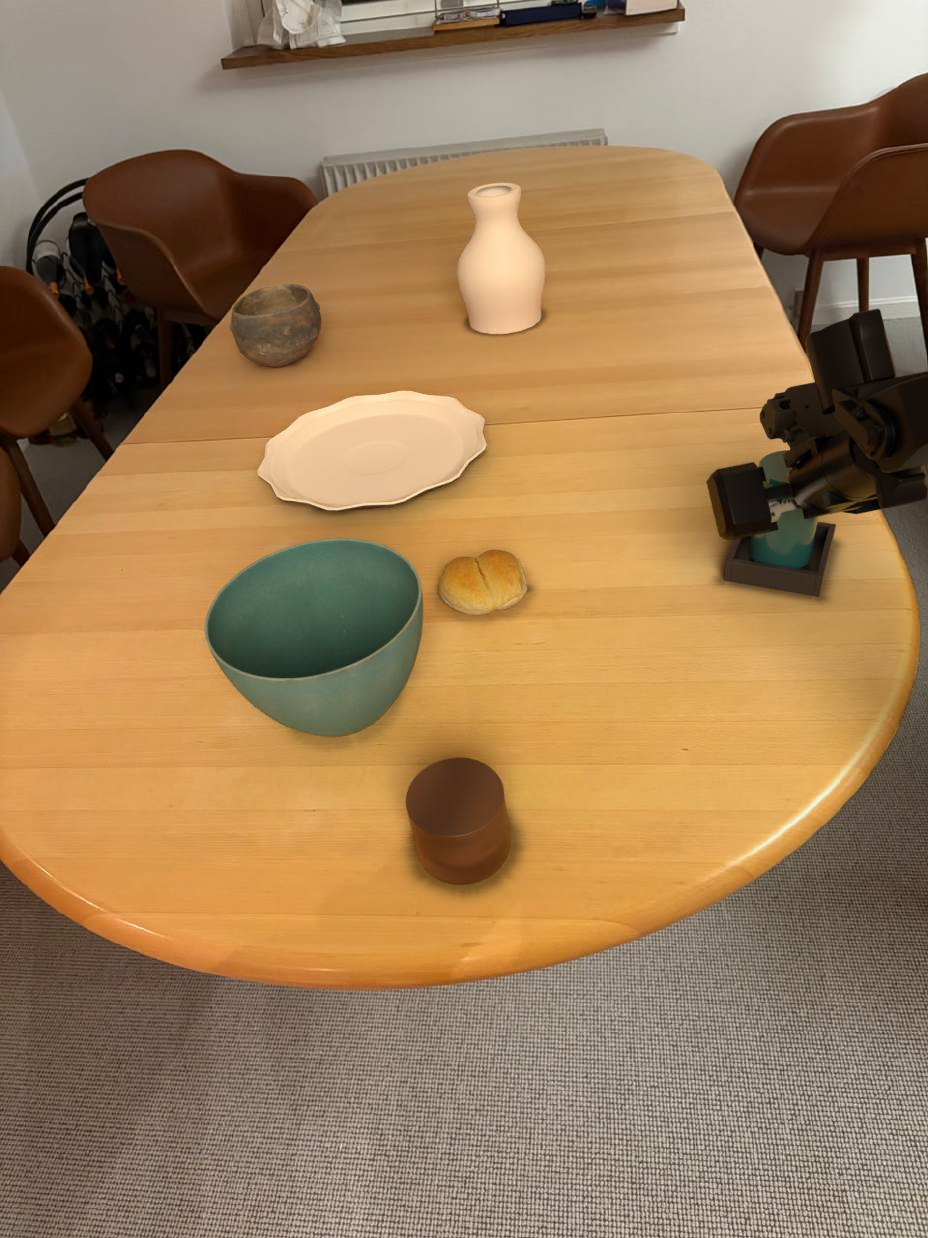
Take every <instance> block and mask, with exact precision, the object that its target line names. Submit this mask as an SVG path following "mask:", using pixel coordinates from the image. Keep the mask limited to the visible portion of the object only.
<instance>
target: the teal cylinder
mask: <svg viewBox="0 0 928 1238" xmlns="http://www.w3.org/2000/svg"><path fill="white" fill-rule="evenodd" d="M789 450H790V449H785V450H784V449H783V450H778V451H774V452H771V453H768V454H766V455H765V456H763V457H762V458H761V459H760V460H759V462H758V467H762V466H763V468H764V473H765V477H766V481H767V485H773V487H776V486H781V485H786V484H789V480H788V477H787V473H788V472H789V471H791V470H792V467H790V468H786V465H785V461H784V457H783V454H784V453H786V452H787V451H789ZM790 499H792V501H793V499H794V498H793V497H791V498H786V499H781V500H777V502H779V503H780V502H781V501H783V502H785V500H788V502H789V500H790ZM819 518H820V516H819V517H814V518H809V519H804V515H803V511H802V509H799V510H794V511H789V512H784V513H781V517H780V519H779V520H778V521H777V525H778V529H779V530H777V531H772V532H767V533H762V534H757V535H753V536H751V539H750V548H749V553H750V556H751V558H752V559H753V560H754V561H755V562H758V563H764V564H771V565H777V566H783V567H789V568H795V569H799V568H801V567H804V566H805V565H807V564H808V563H809V562H810V560H811V559H812V554H813V548H814V542H815V536H816V530H817V524H818V522H819Z"/></svg>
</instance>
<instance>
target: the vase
mask: <svg viewBox="0 0 928 1238" xmlns="http://www.w3.org/2000/svg"><path fill="white" fill-rule="evenodd" d="M466 196H467V202H468V205H469V207H470V210H471V212H472V215H473V217H474V230H473V232H472V236H471V237H470V239H469V241H468V242H467V244H466V246H465V247H464V249H463V251H462V252H461V254H460V256H459V259H458V261H457V265H456V281H457V285H458V290H459V292H460V295H461V298H462V301H463V304H464V307H465V310H466V313H467V317H468V324H469V326H470V328H471V329H472V330H474V331H477V332H478V333H483V334H489V335H507V334H511V333H512V334H513V333H517V332H522V331H525V330H526V329H529V328H531V327H534V326H535V325H536V324H537V323H539V322H540V321H541V318H542V303H543V296H544V290H545V285H546V278H547V277H546V276H547V265H546V259H545V256H544V254H543V252H542V250H541V248H540V247H539V245H537V243H536V242H535V241H534V239H532V238H531V237H530V236H529V234H528V233H526V231H525V230H524V228H523V227H522V226H521V223H520V220H519V208H520V205H521V204H520V203H521V200H522V188H521V186H520V185H518V184H517V183H512V182H493V183H488V184H482V185H480V186H476V187H473V188H472V189H470V190H469V192H468V193H467V195H466Z"/></svg>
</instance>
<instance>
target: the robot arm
mask: <svg viewBox="0 0 928 1238" xmlns="http://www.w3.org/2000/svg"><path fill="white" fill-rule="evenodd" d="M885 327H886V326H885V324H884V319H883V315H882V311H881V309H880V308H873V309H867V310H863V311H857V312H854V313H853V314H851V316H849V318H845V319H843V320H840V321H837V322H835V323H832V324H830V325H828V326H825V327H824V328H821V329H819V330H815V331H812V332H811V333H810V334H808V335H807V336H806V338H805V339H804V345H805V348H806V352H807V356H808V361H809V365H810V368H811V371H812V377H813V381H814V382H809V383H803V384H797V385H793V386H789V387H788V388H786V389H785V391H782V392H776V393H775V394H774V396H773V397H772V398H768V399H767V400H766V403H764V404H763V406H762V408H761V410H760V412H759V422H760V424H761V427H762V428H763V430H764V433H765V435H766V437H767V439H768V440H771V441H772V440H779V439H780V440H781V442H782V443H783V444H786V443H787V445H788V446H789V449H788V450H789V451H787V452H786V453H784V454H783V457H784V461H785V465H786V468H790V467H792V470H791V471H789V472H788V473H787V477H788V480H789V484H786V485H781V486H776V487H773V485H767V481H766V477H765V473H764V468H763V466H762V467H759V465H758V464H756V463H755V461H751V462H747V463H741V464H736V465H731V466H727V467H722V468H721V467H720V468H717V469H716V470H714V471H713V472H712V473H711V474H710V476H709V477H708V478H707V480H706V481H705V482H706V486H707V491H708V495H709V500H710V503H711V508H712V511H713V512H712V513H713V516H714V520H715V525H716V529H717V533H718V536H719V537H720V538H721V539H723V540H724V541H726V542H728V541H734V539H739V538H744V537H748V536H753V535H757V534H762V533H767V532H772V531H777V530H779V529H778V525H777V521H778V520H779V519H780V517H781V513H784V512H789V511H794V510H799V509H802V511H803V515H804V519H809V518H814V517H819V518H820V517H823V516H827V515H828V516H829V515H833V514H838V513H844V514H852V515H860V514H864V513H871V512H874V511H880V510H886V509H891V508H896V507H901V506H905V505H910V504H915V503H921V502H925V501H926V500H927V498H928V473H927V469H926V467H927V466H928V370H925V371H920V372H915V373H908V374H904V375H898V372H897V369H896V364H895V361H894V357H893V354H892V350H891V346H890V343H889V338H888V334H887V331H886V328H885ZM791 497H793V498H794V499H793V501H792V499H790V500H789V502H788V500H785V502H783V501H781V502H780V503H779V502H777V500H781V499H786V498H791Z"/></svg>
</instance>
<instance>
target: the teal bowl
mask: <svg viewBox="0 0 928 1238" xmlns="http://www.w3.org/2000/svg"><path fill="white" fill-rule="evenodd" d="M423 623H424V597H423V588H422V583H421V579H420V575H419V573H418V571H417V570H416V567H414V565H413V563H412V562H411V561H410V560H409V559H408V558H407V557H406V556H405V555H403V554H402V553H401V552H399V551H397V550H396V549H394V548H392V547H390V546H387V545H385V544H382V543H380V542H377V541H376V542H375V541H372V540H367V539H360V538H351V537H337V538H336V537H334V538H322V539H315V540H310V541H305V542H301V543H297V544H293V545H291V546H287V547H284V548H281V549H279V550H277V551H276V550H275V551H274V552H271V553H269V554H267V555H265V556H263V557H261V558H259V559H258V560H255V561H254V562H252V563H251V564H249V565H247V566H246V567H244V568H243V569H242V570H241V571H239V572H238V573H236V574H235V575H234V576H233V577H231V578H230V579H229V581H227V582H226V584H225V585H223V587H222V588H221V589H220V590H219V591H218V593H216V595H215V597H214V598H213V600H212V602H211V603H210V605H209V608H208V610H207V613H206V617H205V621H204V630H203V631H204V639H205V641H206V644H207V647H208V649H209V651H210V653H211V655H212V657H213V659H214V660H215V663H216V664H217V665H218V667H219V668H220V670H221V672H222V673H223V674H224V676H225V677H226V678H227V679H228V681H229V682H230V683H231V685H232V686H233V687H234V688H235V689H236V690H237V692H239V694H240V695H241V696H242V697H243V698H244V699H245V700H246V701H248V703H250V704H251V705H252V706H253V707H254V708H256V709H257V710H258V711H260V712H261V713H262V714H264V715H265V716H267V717H268V718H269V719H271V720H273V721H274V722H277V723H278V724H280V725H282V726H284V727H287V728H288V729H292V730H294V731H298V732H300V733H303V734H307V735H312V736H317V737H323V738H325V737H326V738H339V737H340V738H341V737H345V736H349V735H354V734H356V733H359V732H361V731H363V730H364V729H367V728H368V727H370V726H372V725H373V724H375V723H376V722H377V721H378V720H379V719H380V718H381V717H382V716H384V714H385V713H386V712H387V711H388V710H389V709H390V708H391V707H392V706H393V704H394V703H395V701H396V700H398V698H399V696H400V695H401V694H402V692H403V690H404V689H405V687H406V685H407V683H408V681H409V679H410V676H411V675H412V671H413V669H414V667H415V664H416V661H417V657H418V655H419V650H420V645H421V640H422V634H423V633H422V632H423Z"/></svg>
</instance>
